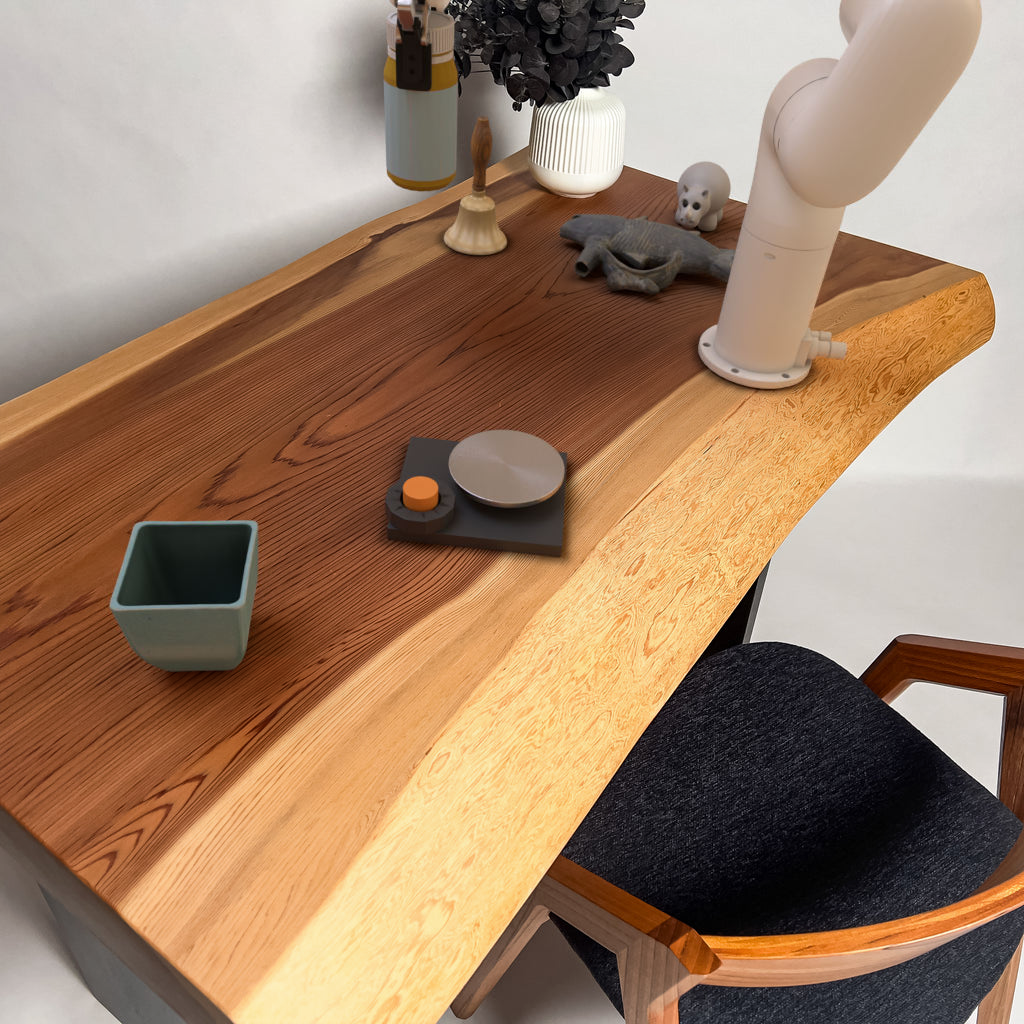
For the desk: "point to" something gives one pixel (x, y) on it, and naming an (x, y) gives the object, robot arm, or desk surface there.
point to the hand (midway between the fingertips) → (421, 74)
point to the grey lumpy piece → (642, 251)
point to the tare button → (420, 494)
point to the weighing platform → (506, 468)
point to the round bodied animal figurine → (702, 195)
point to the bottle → (423, 114)
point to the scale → (470, 510)
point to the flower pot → (188, 593)
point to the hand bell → (477, 204)
